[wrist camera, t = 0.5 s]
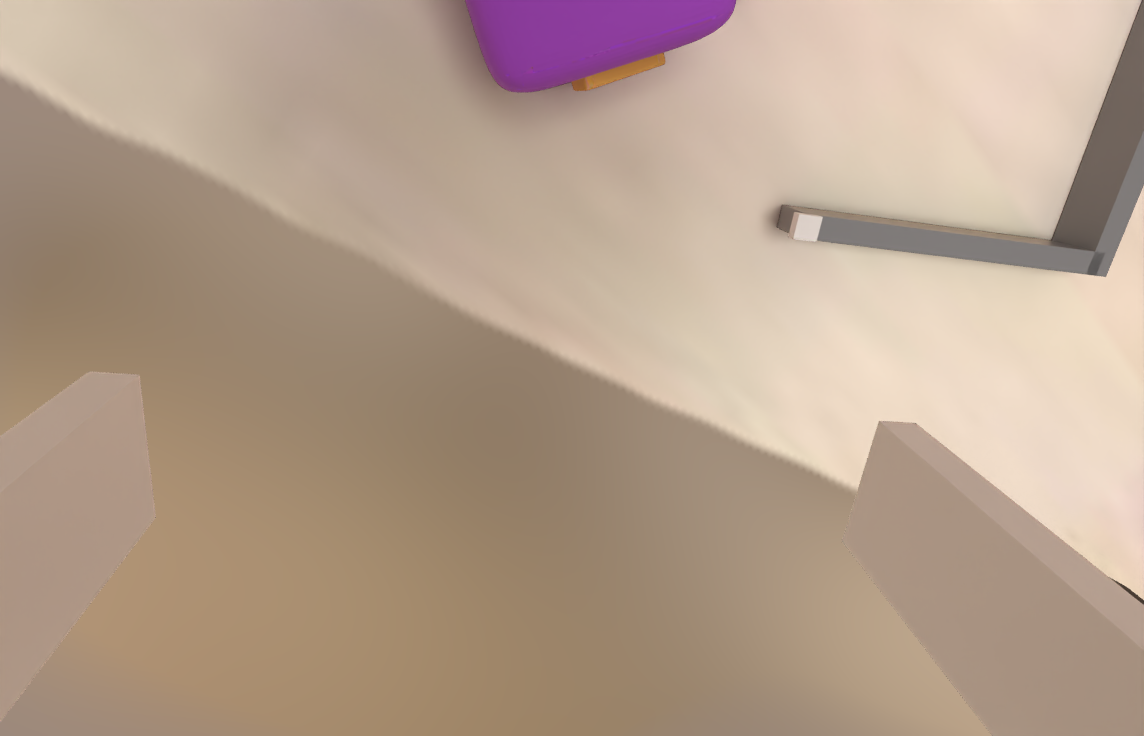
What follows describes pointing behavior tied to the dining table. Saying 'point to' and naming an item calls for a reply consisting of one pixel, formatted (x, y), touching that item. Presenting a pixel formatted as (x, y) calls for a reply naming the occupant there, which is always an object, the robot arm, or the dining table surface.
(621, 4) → the toy camera
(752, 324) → the dining table surface
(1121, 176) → the gray bracket frame
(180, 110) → the dining table surface
